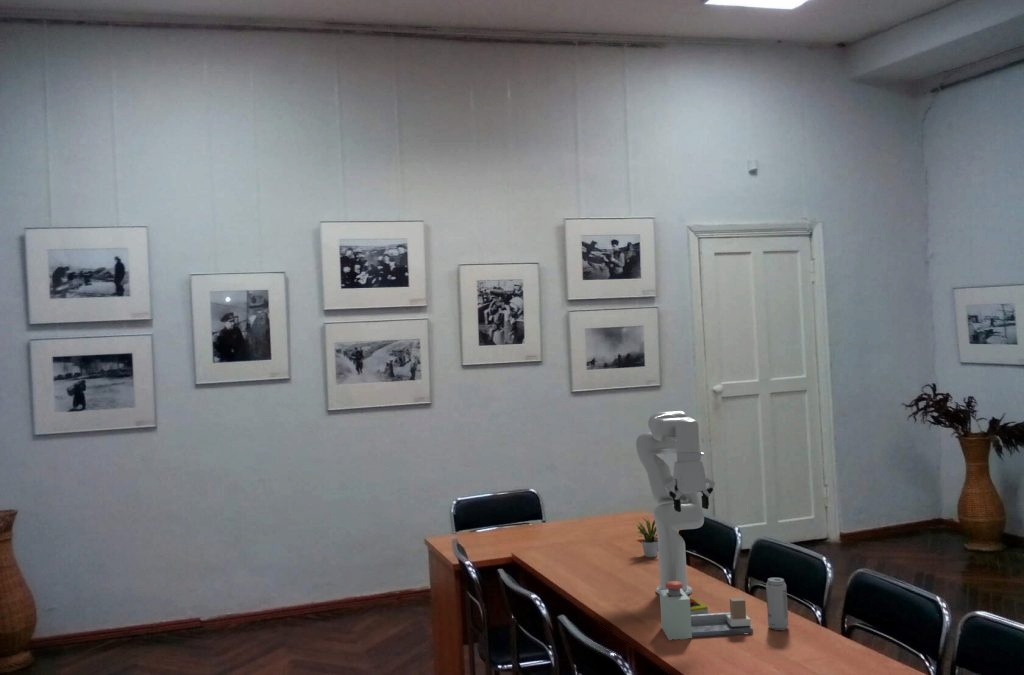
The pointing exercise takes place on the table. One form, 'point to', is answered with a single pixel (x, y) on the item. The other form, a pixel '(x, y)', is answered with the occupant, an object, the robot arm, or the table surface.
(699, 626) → the track
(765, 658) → the table surface
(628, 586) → the table surface
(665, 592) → the cabinet
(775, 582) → the energy drink can
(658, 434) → the robot arm
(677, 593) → the button
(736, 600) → the carriage
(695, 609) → the emergency button
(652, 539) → the house plant
